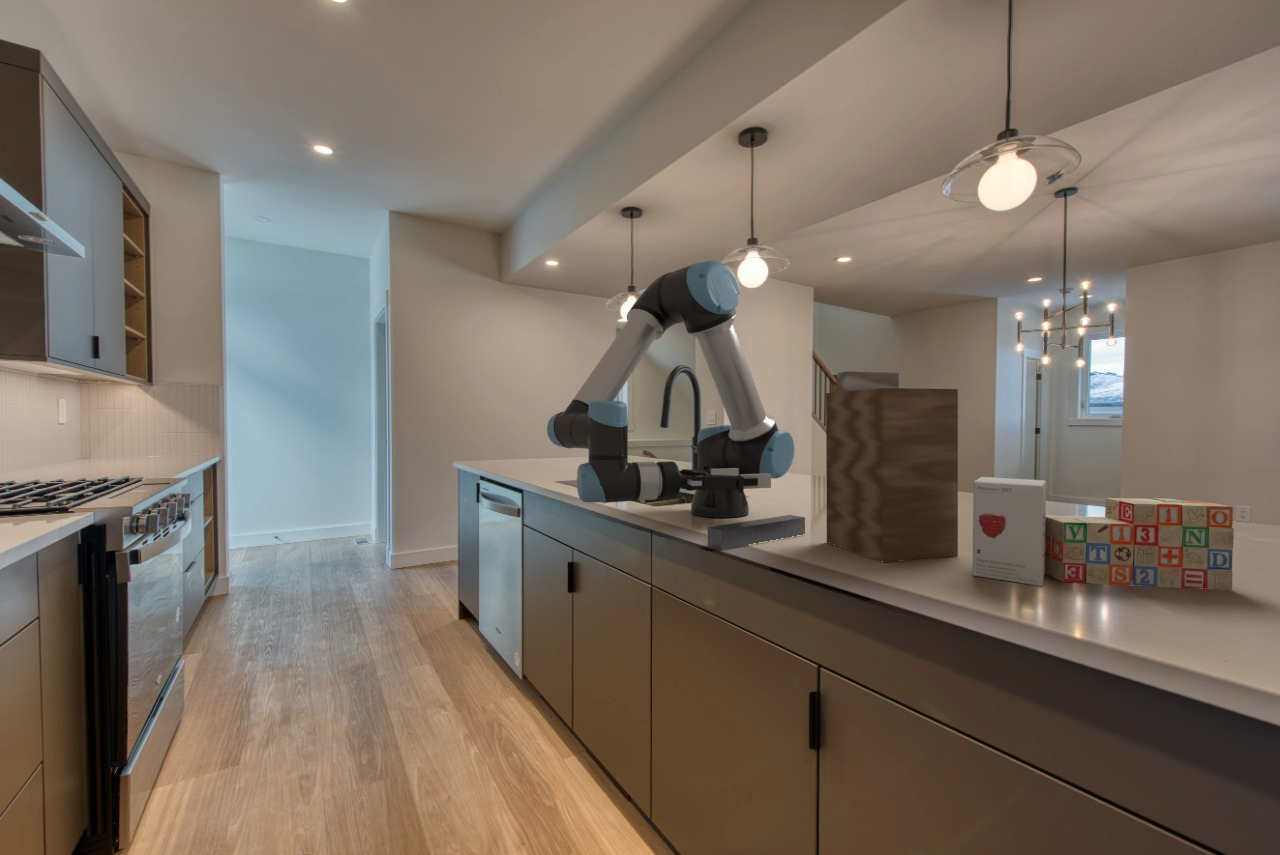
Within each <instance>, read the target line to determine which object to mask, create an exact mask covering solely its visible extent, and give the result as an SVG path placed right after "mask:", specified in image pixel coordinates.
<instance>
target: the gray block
mask: <svg viewBox="0 0 1280 855" xmlns="http://www.w3.org/2000/svg"><path fill="white" fill-rule="evenodd" d="M803 534H805V535H806V516H805V517H804V516H799V515H794V514H788V515H787V514H785V515H780V516H774V517H766V518H760V519H753V520H746V521H741V522H733V523H727V524H720V525H719V524H718V525H715V526H708V527H707V547H708V548H710V549H713V550H717V551H720V552H721V551H722V552H723V551H728V550H734V549H739V548H745V547H748V546H747V545H749V544H753V543H759V542H764V541H770V540H776V539H781V538H787V537H792V536H797V535H803Z"/></svg>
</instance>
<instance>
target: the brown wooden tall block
mask: <svg viewBox="0 0 1280 855" xmlns="http://www.w3.org/2000/svg"><path fill="white" fill-rule="evenodd" d="M899 384H900V373H899V372H884V371H883V372H882V371H843V372H837V391H836V392H826V393H825V398H826V399H825V402H826V403H825V404H826V405H825V408H826V410H825V415H826V416H825V419H826V421H825V424H826V426H825V429H826V430H825V431H826V432H825V433H826V434H825V438H826V439H825V440H826V441H825V442H826V444H825V445H826V446H825V447H826V451H825V452H826V453H825V454H826V457H825V458H826V463H825V464H826V465H825V466H826V467H825V468H826V482H825V483H826V543H827V542H830V543H832V544H835V545H838V546H841V547H843V548H842V549H844V548H846V549H845V550H847V549H849V550H852V551H854V552H853V553H855V552H857V553H856V554H858V553H860V554H859V555H861V554H863V555H862V556H864V555H866V556H865V557H867V556H869V557H871V559H872V558H874V559H873V560H875V559H877V560H876V561H878V560H880V561H879V562H881V561H883V562H882V563H884V562H885V563H890V562H889V561H895V562H901V561H900V560H906V561H913V560H912V559H916V560H925V559H926V558H927V559H935V558H946V557H955V556H956V557H957V556H959V530H958V529H959V515H958V514H959V507H958V506H959V497H958V496H959V492H958V490H959V487H958V486H959V485H958V484H959V483H958V482H959V481H958V480H959V472H958V469H959V468H958V466H959V461H958V460H959V459H958V458H959V457H958V456H959V455H958V454H959V453H958V452H959V451H958V448H959V436H958V434H959V433H958V432H959V431H958V430H959V429H958V428H959V426H958V425H959V421H958V420H959V419H958V418H959V414H958V413H959V412H958V411H959V410H958V408H959V406H958V405H959V404H958V403H959V400H958V395H959V393H958V392H959V389H958V388H912V387H911V388H908V387H907V388H905V387H904V388H903V387H901V388H900V387H899V386H900V385H899ZM830 543H829V544H830ZM832 544H831V545H832ZM835 545H834V546H835ZM838 546H837V547H838ZM841 547H840V548H841ZM849 550H848V551H849ZM852 551H851V552H852ZM869 557H868V558H869Z"/></svg>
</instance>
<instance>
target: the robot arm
mask: <svg viewBox="0 0 1280 855" xmlns="http://www.w3.org/2000/svg"><path fill="white" fill-rule="evenodd" d="M740 292H741V291H740V285H739V282H738V279H737V277H736V275H735V274H734V272H733V271H732V270H731V269H730V267H729V266H727V265H726V264H724V263H722V262H721V261H720V260H719V261H718V260H716V259H712V260H711V259H710V260H706V261H702V262H700V261H699V262H696V263H693V264H689V265H688V266H685V267H682V268H680V269H679V268H678V269H676V270H674V271H671V272H670V271H669V272H667V273H664V274H662V275H660V276H658V277H657V278H656V279H655V280H654V281H652V282H651V283H650V284H649V285H648V286H647V287H646V289H645V290H644V291H643V292H642V293H641V294H640V296H639V297H638V298H637V300H635V302H634V304H632V307H631V308H629V311H628V312H627V314H626V320H627V321H626V322H625V324H624V325H623V327H622V328H621V330H620V331H619V333H618V334H617V335H616V337H615V338H614V340H613V341H612V342H611V344H610V346H608V348H607V350H606V352H605V353H603V356H601V358H600V360H599V361H598V363H597V364H596V366H595V367H594V369H593V370H592V371H591V372H590V374H589V376H588V377H587V379H586V380H585V381H584V383H583V384H582V386H581V387H580V389H579V390H578V392H577V393H576V395H574V397H573V398H572V400H571V401H570V403H569V404H568V405H567V407H566V408H565V410H564V411H560V412H558V413H555V414H554V415H553V416H551V417H550V418H549V419H548V422H547V426H546V433H547V437H548V438H549V440H550V441H551V443H552V444H554V445H556V446H558V447H561V448H565V449H585V450H588V461H587V462H585V463H581V464H579V466H578V467H577V472H576V474H577V475H576V488H577V495H578V497H579V499H580V500H581V501H582V502H584V503H602V504H606V503H607V504H608V503H619V502H620V503H621V502H636V501H639V502H640V504H642V505H643V504H645V502H646V501H655V500H659V501H661V500H662V501H663V500H665V501H667V500H676V499H677V498H678V496H679V495H680V492H681V490H685V491H689V492H690V491H691V492H692V491H694V492H695V493H694V495H693V498H692V500H691V508H690V510H691V511H690V513H691V514H692V515H695V516H700V517H705V518H720V519H723V518H725V519H726V518H729V519H730V518H740V517H745V516H748V515H749V512H750V511H749V503H748V500H747V497H746V494H745V490H746V489H747V490H749V489H771V488H772V479H779V478H782V477H783V476H785V474H787V473H788V471H789V469H790V468H791V466H792V464H793V460H794V456H795V442H794V439H793V437H792V434H790V432H788V431H786V430H784V429H779V428H778V425H777V421H776V420H775V418H774V416H771V415H769V414H766V411H765V408H764V406H763V402H762V400H761V397H760V395H759V391H758V389H757V386H756V383H755V381H754V378H753V375H752V373H751V370H750V367H749V364H748V362H747V361H748V360H747V359H746V356H745V353H744V350H743V348H742V346H741V342H740V340H739V337H738V334H737V330H736V329H735V326H734V321H735V319H736V317H737V313H738V312H737V311H736V308H737V306H738V305H739V302H740V296H739V295H740ZM680 323H683V324H684V327H685V330H686V332H687V334H688V335H691V336H693V337H695V338H697V341H698V344H699V346H700V349H701V352H702V354H703V357H704V359H705V361H706V364H707V367H708V370H709V371H710V374H711V377H712V380H713V382H714V385H715V387H716V390H717V393H718V394H719V398H720V400H721V403H722V405H723V409H724V411H725V413H726V416H727V419H728V421H729V424H727V425H717V426H710V427H704V428H702V429H700V430H699V431H698V434H697V442H696V456H697V458H696V461H697V464H696V465H697V468H694V469H693V468H692V469H690V468H689V469H687V468H681V469H680V468H679V466H678V464H677V463H676V462H675V461H669V460H667V461H657V462H656V461H633V462H628V460H629V458H628V455H629V454H628V450H629V449H628V448H629V447H628V440H629V438H628V437H629V436H628V435H629V423H630V422H629V420H628V406H627V404H626V403H625V402H624V401H621V400H615V399H616V398H617V397H618V395H619V394H620V392H621V390H622V389H623V388H624V386H625V384H626V382H628V380H629V378H630V377H631V376H632V374H633V373H634V371H635V369H636V368H637V366H638V365H639V363H640V362H641V360H642V359H643V357H644V356H645V354H646V353H647V351H648V350H649V349H650V347H651V345H652V344H653V343H654V341H656V340H660V339H661V337H662V336H663V335H664V333H665V332H666V331H667V330H669V328H671V327H672V326H674V325H677V324H680Z"/></svg>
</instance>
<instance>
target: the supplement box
mask: <svg viewBox="0 0 1280 855" xmlns="http://www.w3.org/2000/svg"><path fill="white" fill-rule="evenodd" d="M972 488H973V492H972V494H973V495H972V496H973V499H972V501H973V503H972V506H973V508H972V509H973V511H972V512H973V513H972V514H973V515H972V516H973V517H972V576H974V577H980V578H981V577H982V578H986V579H987V578H988V579H993V580H1001V581H1007V582H1010V583H1011V582H1012V583H1017V582H1018V584H1023V585H1024V584H1025V585H1031V586H1037V587H1043V585H1044V579H1045V574H1046V573H1045V519H1046V515H1047V513H1046V510H1047V509H1046V507H1047V506H1046V504H1047V501H1046V500H1047V498H1046V497H1047V480H1042V479H1026V478H1025V479H1023V478H1009V477H1008V478H1006V477H992V476H991V477H990V476H980V477H979V478H978V479H975V480H974V481H973V487H972Z"/></svg>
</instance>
